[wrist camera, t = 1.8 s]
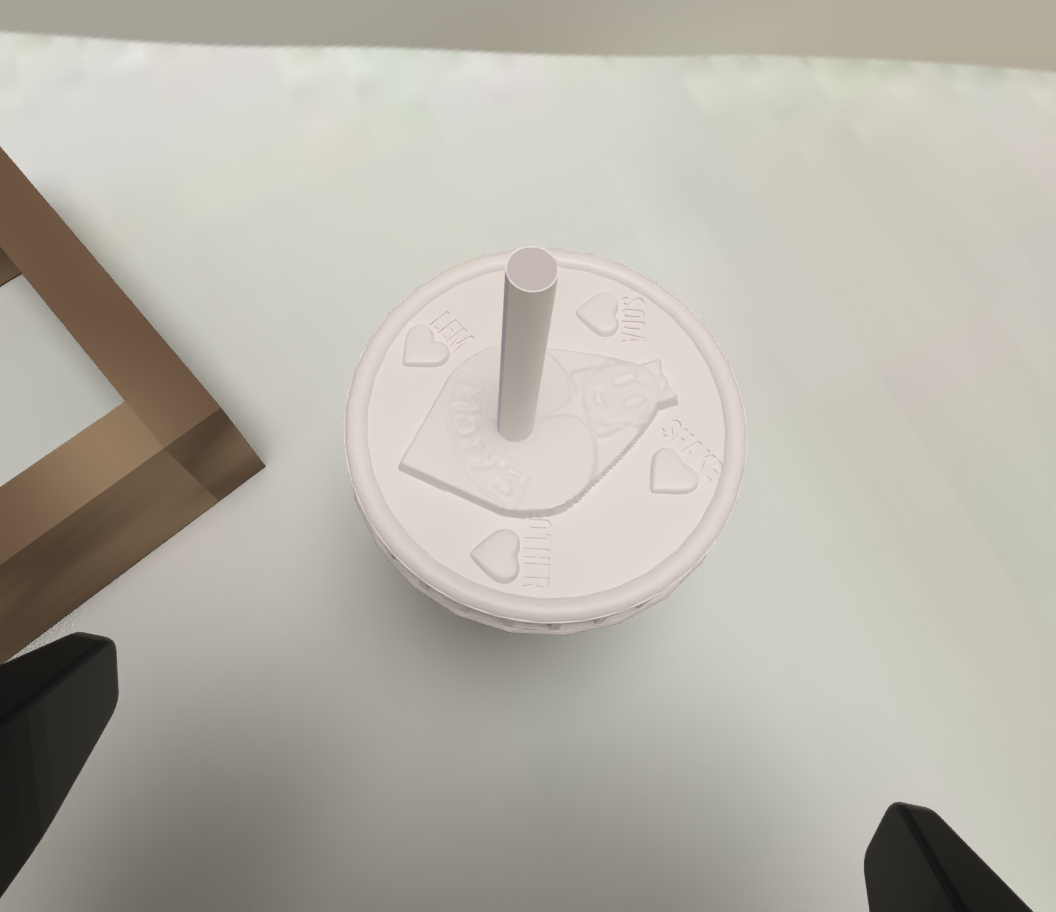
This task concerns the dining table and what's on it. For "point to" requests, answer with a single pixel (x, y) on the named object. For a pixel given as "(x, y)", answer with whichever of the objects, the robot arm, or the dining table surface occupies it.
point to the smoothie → (544, 440)
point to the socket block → (101, 436)
